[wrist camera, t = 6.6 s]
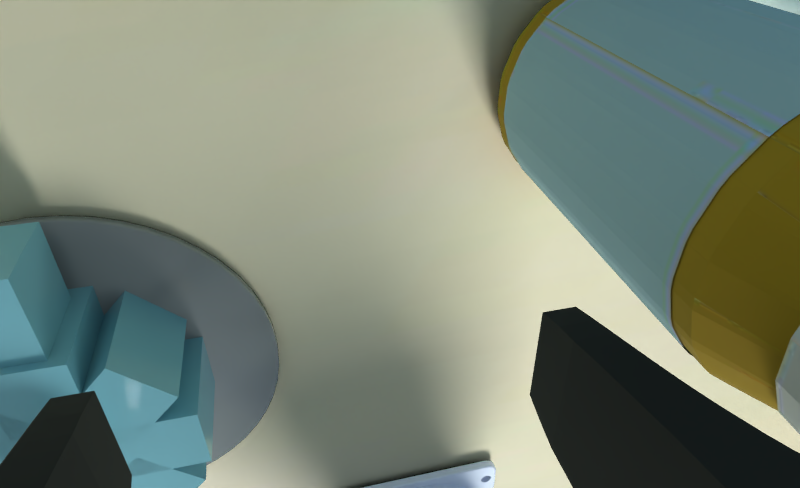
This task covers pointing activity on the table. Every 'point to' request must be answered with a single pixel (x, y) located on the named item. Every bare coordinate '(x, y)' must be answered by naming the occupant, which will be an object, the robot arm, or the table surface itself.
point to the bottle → (676, 166)
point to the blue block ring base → (132, 341)
